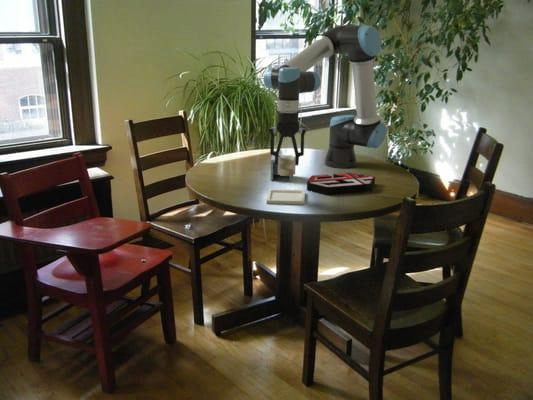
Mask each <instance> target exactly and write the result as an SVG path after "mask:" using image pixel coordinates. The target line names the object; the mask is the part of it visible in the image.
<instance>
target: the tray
mask: <svg viewBox="0 0 533 400" xmlns="http://www.w3.org/2000/svg"><path fill="white" fill-rule="evenodd" d="M305 196H306V195H305V189H277V188H273V189H272V188H268V192H267V197H266V205H288V206H291V205H293V206H296V205H297V206H305V203H306V201H305V198H306V197H305Z"/></svg>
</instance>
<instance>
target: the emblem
mask: <svg viewBox="0 0 533 400" xmlns="http://www.w3.org/2000/svg"><path fill="white" fill-rule="evenodd" d="M375 184H376V176H373V175H364V174H362V173H357V172H342V173H341V172H338V173H333V175H329V174H316V175H314V174H313V175H311V176H310V177H309V178H308V179H307V181H306V191H308V192H311V191H312V192H311V193H315V194H319V195H323V196H328V197H331V196H341V195H352V194H353V195H354V194H364V193H371V192H372V191H373V189H374V187H375Z"/></svg>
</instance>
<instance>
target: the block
mask: <svg viewBox="0 0 533 400" xmlns="http://www.w3.org/2000/svg"><path fill="white" fill-rule="evenodd" d="M293 163H294V156H293V157H280V176H279V177H290V176H292V177H293V176H294V175H293Z"/></svg>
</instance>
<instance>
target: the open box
mask: <svg viewBox="0 0 533 400" xmlns="http://www.w3.org/2000/svg"><path fill="white" fill-rule="evenodd" d="M279 156H280V157H294V156H293V155H291V154H289V155H288V154H287V155H286V154H279ZM274 175H280V174H278V165H275V156H274V155H271V158H270V181H271V180H274V177H275V176H274ZM273 176H274V177H273ZM292 181H293V176H289V182H292Z"/></svg>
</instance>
